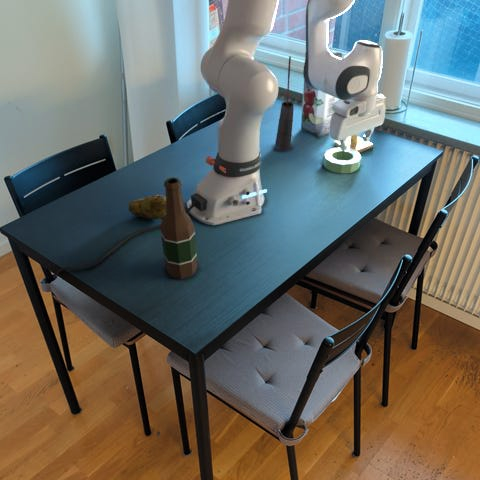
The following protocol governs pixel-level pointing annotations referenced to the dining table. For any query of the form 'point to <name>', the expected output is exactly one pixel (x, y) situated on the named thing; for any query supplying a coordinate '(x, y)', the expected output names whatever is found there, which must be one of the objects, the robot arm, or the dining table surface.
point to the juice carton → (317, 109)
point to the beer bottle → (178, 234)
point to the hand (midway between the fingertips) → (354, 145)
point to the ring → (348, 166)
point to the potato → (149, 207)
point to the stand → (355, 143)
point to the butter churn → (285, 122)
